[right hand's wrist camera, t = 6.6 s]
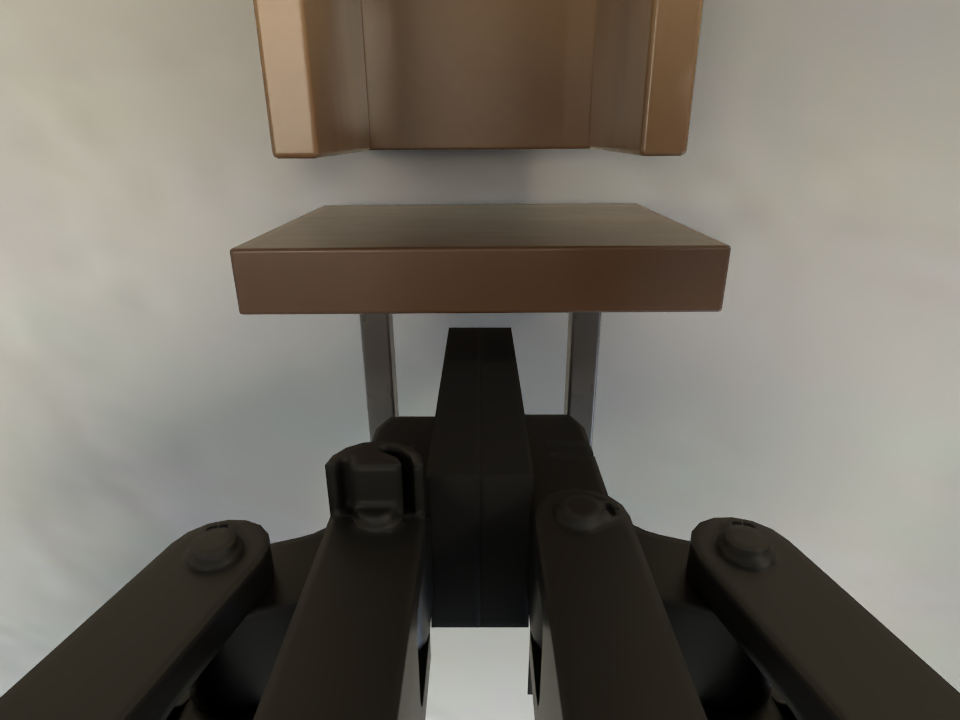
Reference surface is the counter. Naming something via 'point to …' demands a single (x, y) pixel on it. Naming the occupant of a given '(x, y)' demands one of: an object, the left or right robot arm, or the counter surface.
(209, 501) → the counter surface
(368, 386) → the drawer
